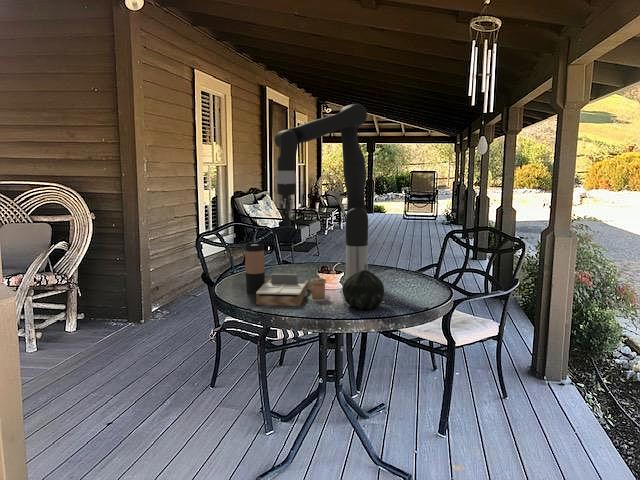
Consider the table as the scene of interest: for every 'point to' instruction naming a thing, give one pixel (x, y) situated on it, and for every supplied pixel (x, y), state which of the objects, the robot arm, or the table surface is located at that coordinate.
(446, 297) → the table surface
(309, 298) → the saucer
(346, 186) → the robot arm
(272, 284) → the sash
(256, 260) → the travel mug
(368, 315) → the table surface
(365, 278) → the squash
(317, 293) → the pot
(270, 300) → the box
